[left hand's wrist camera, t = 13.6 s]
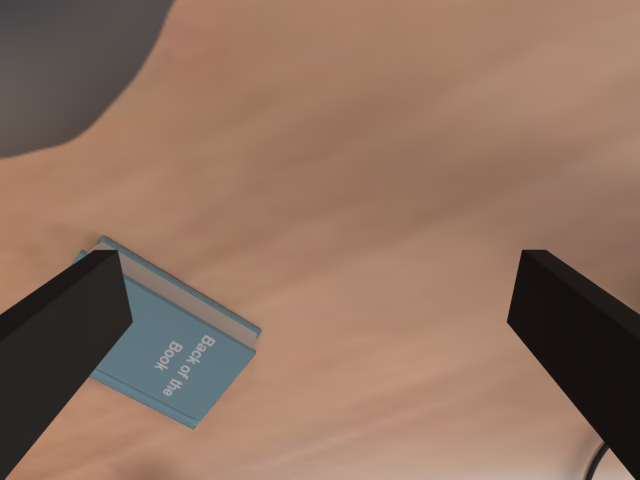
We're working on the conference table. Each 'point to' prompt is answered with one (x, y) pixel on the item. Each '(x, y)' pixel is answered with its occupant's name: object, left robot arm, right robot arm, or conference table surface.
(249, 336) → the book
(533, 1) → the conference table surface
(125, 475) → the conference table surface
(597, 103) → the conference table surface
